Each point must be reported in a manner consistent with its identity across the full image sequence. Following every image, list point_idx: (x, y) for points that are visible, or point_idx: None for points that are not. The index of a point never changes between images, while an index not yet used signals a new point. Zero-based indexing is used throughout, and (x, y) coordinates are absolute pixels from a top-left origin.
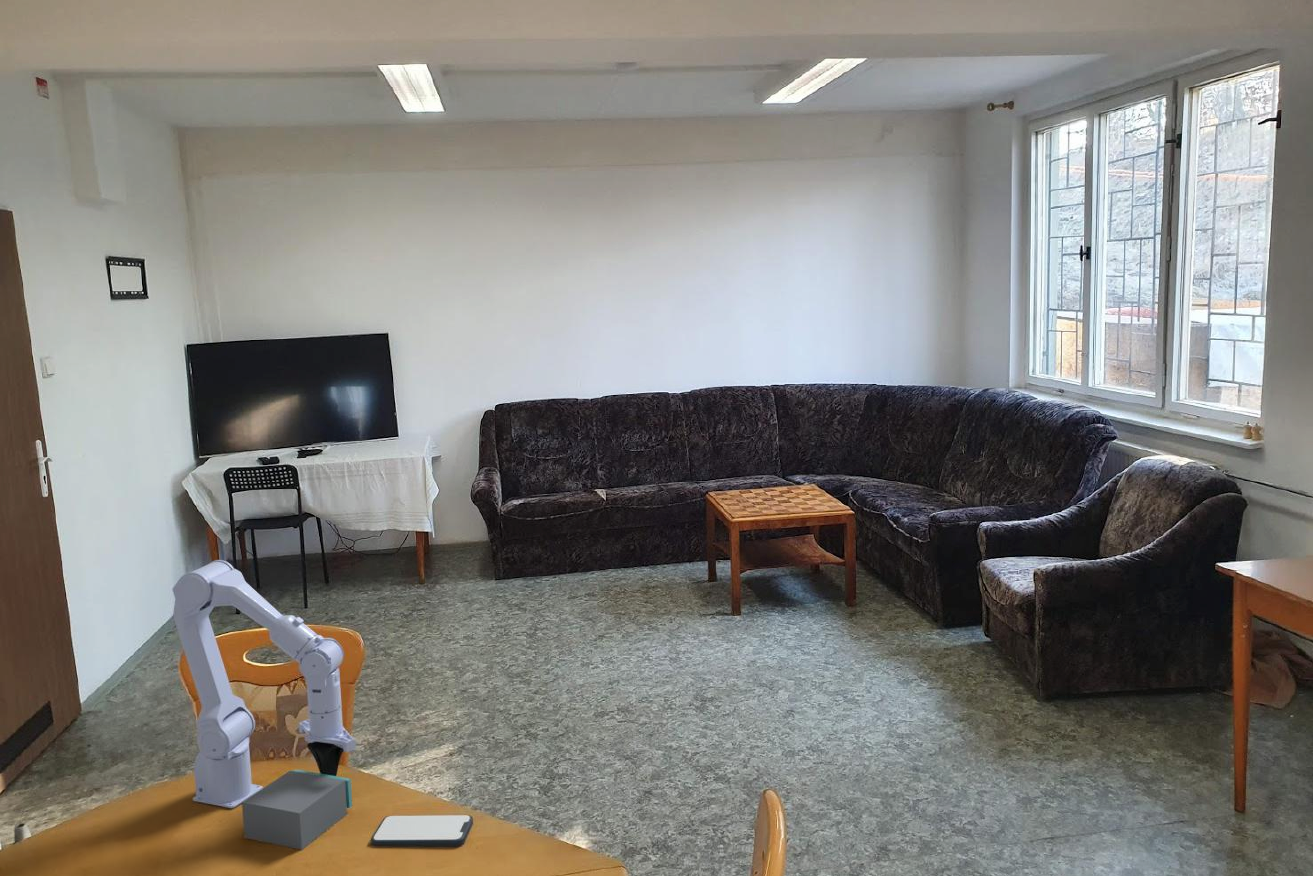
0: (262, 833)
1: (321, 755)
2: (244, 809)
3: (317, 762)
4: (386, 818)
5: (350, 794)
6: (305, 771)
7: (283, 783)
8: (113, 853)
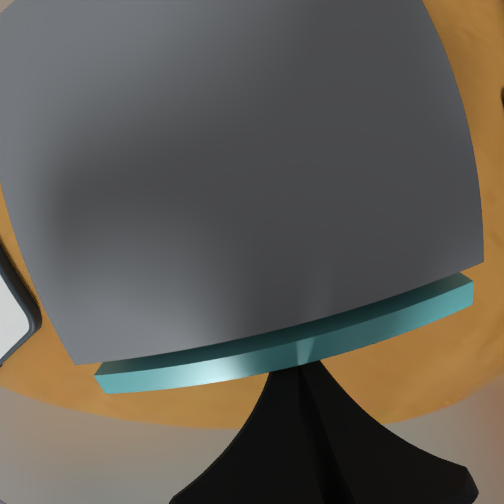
0: None
1: (234, 486)
2: None
3: (349, 412)
4: (23, 315)
5: None
6: (411, 325)
7: (383, 98)
8: None
